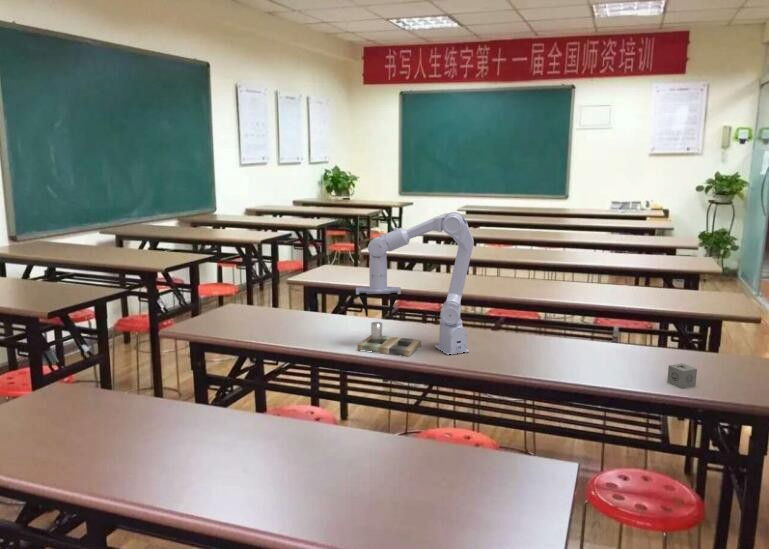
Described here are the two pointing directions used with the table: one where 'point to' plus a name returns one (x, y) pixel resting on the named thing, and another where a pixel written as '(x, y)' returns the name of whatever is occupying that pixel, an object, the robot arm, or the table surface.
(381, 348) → the tool stand
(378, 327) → the metal cylinder
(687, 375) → the dice cube
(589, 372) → the table surface
